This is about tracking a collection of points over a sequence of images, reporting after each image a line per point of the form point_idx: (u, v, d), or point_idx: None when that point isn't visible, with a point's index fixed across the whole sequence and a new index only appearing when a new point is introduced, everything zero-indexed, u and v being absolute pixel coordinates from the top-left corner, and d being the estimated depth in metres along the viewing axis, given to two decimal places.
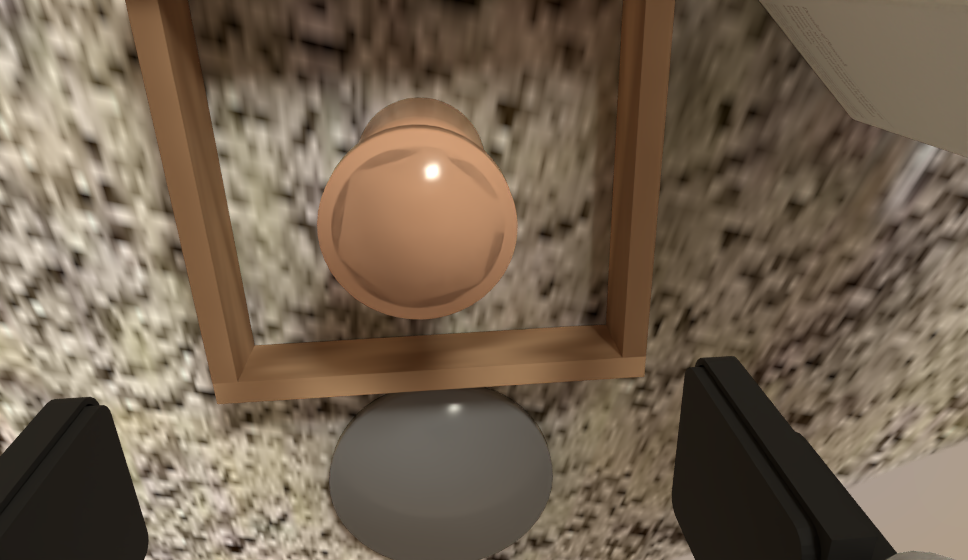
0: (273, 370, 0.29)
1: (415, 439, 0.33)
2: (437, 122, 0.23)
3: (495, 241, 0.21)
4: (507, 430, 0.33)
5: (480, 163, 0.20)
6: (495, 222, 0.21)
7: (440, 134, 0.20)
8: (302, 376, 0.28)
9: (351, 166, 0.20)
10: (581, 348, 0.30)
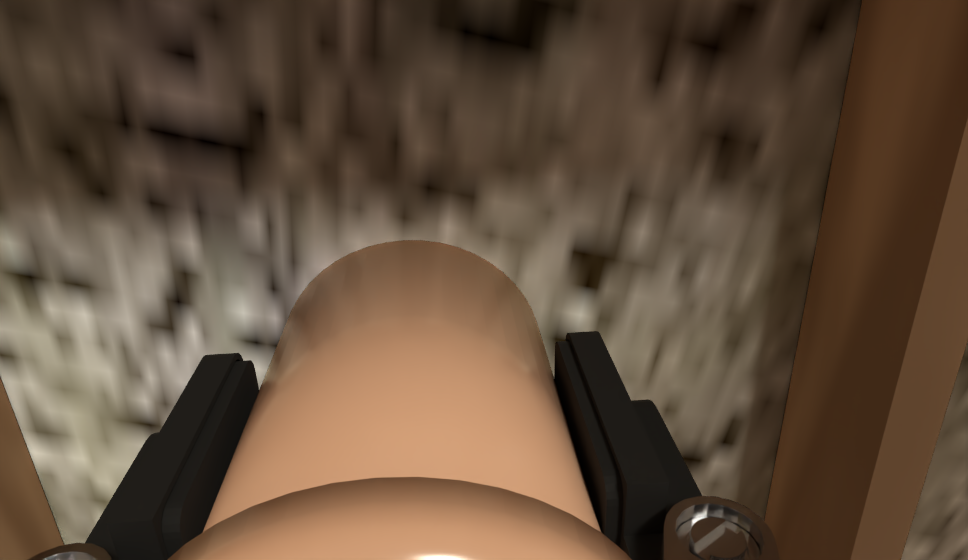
0: None
1: None
2: (451, 367, 0.09)
3: None
4: None
5: None
6: None
7: None
8: None
9: None
10: None
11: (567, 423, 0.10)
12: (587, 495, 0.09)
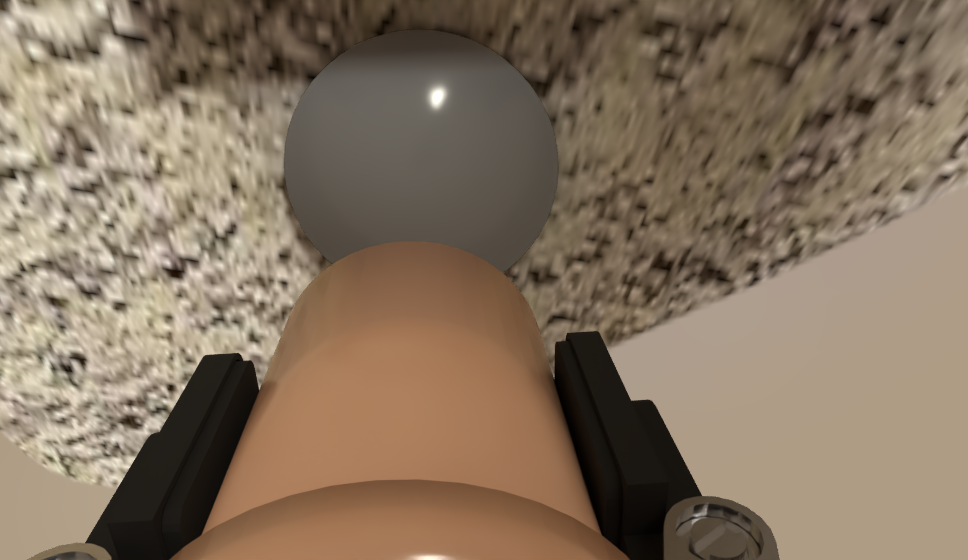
0: None
1: (388, 104, 0.26)
2: (451, 368, 0.09)
3: None
4: (502, 96, 0.27)
5: None
6: None
7: None
8: None
9: None
10: None
11: (567, 425, 0.10)
12: (587, 497, 0.09)
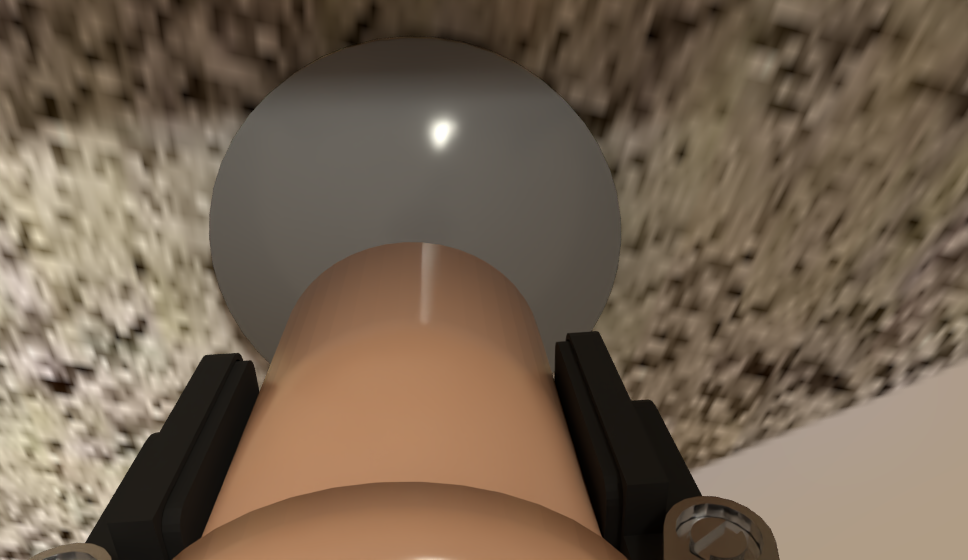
0: None
1: (367, 151, 0.17)
2: (451, 370, 0.09)
3: None
4: (541, 138, 0.17)
5: None
6: None
7: None
8: None
9: None
10: None
11: (567, 426, 0.10)
12: (587, 499, 0.09)
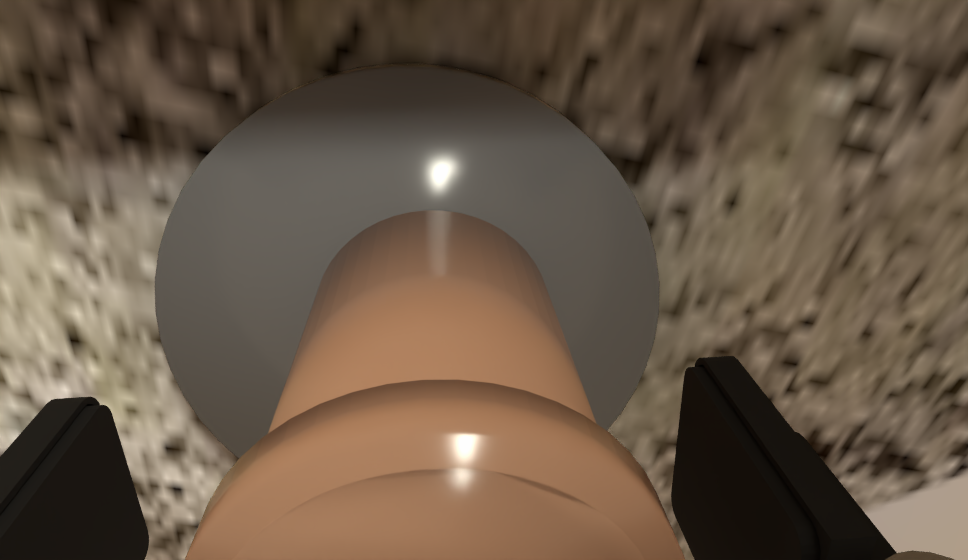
0: None
1: (348, 205, 0.14)
2: (476, 309, 0.10)
3: None
4: (564, 188, 0.14)
5: (611, 501, 0.07)
6: None
7: (504, 436, 0.07)
8: None
9: (250, 522, 0.07)
10: None
11: None
12: (594, 419, 0.10)
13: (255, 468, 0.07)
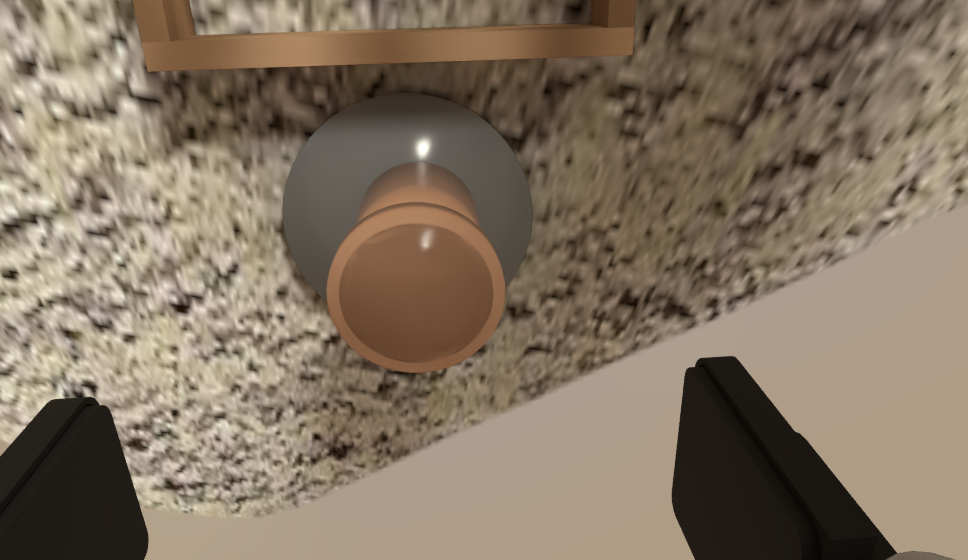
0: (212, 38, 0.25)
1: (378, 159, 0.29)
2: (434, 193, 0.25)
3: (485, 304, 0.23)
4: (481, 152, 0.29)
5: (472, 237, 0.22)
6: (486, 287, 0.23)
7: (436, 213, 0.22)
8: None
9: (357, 241, 0.22)
10: (562, 27, 0.26)
11: (479, 226, 0.27)
12: None
13: (358, 227, 0.22)
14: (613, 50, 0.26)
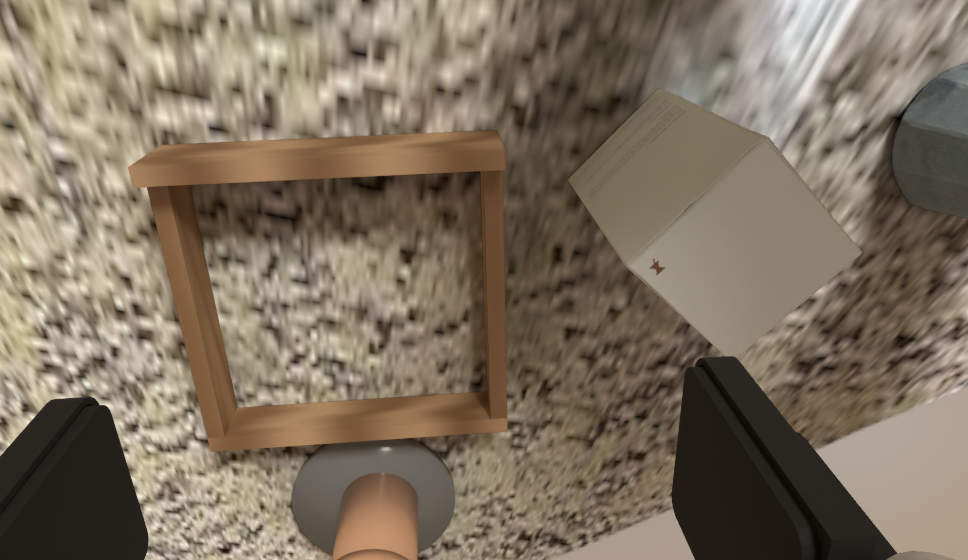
0: (249, 427, 0.42)
1: (352, 472, 0.45)
2: (384, 521, 0.42)
3: None
4: (419, 465, 0.46)
5: None
6: None
7: None
8: (269, 432, 0.41)
9: None
10: (464, 411, 0.43)
11: (414, 529, 0.43)
12: (412, 548, 0.42)
13: None
14: (495, 429, 0.42)
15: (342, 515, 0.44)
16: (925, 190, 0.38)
